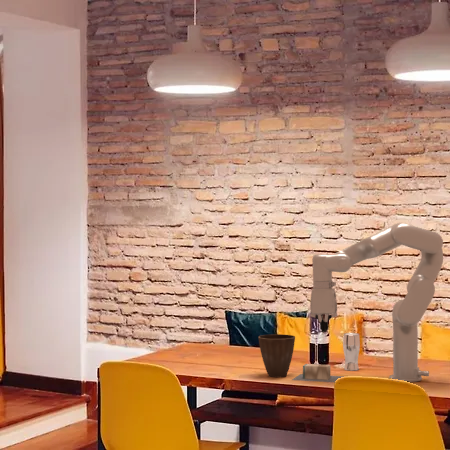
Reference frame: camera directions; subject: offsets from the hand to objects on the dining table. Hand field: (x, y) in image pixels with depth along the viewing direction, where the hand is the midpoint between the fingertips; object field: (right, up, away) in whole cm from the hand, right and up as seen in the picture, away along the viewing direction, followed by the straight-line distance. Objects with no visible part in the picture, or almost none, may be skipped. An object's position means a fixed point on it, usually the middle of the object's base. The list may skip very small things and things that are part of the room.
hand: (324, 331), depth 389 cm
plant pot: (-18, -19, +11) cm, 29 cm away
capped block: (+2, -16, 0) cm, 16 cm away
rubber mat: (-1, -19, 0) cm, 19 cm away
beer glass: (+14, -19, +24) cm, 33 cm away
